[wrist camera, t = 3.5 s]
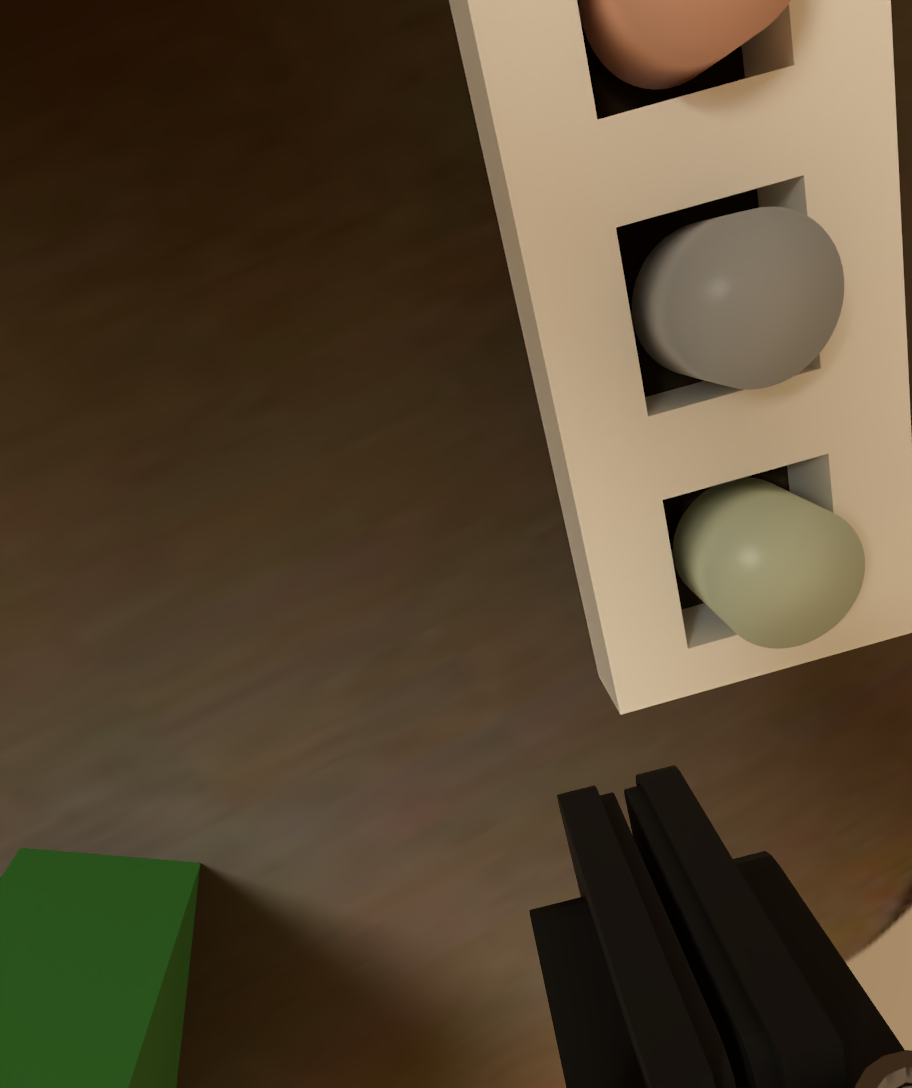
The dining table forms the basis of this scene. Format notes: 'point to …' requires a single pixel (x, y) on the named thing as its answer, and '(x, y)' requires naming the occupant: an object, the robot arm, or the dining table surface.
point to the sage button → (769, 562)
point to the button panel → (702, 408)
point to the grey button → (740, 297)
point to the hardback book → (94, 969)
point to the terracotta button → (671, 35)
